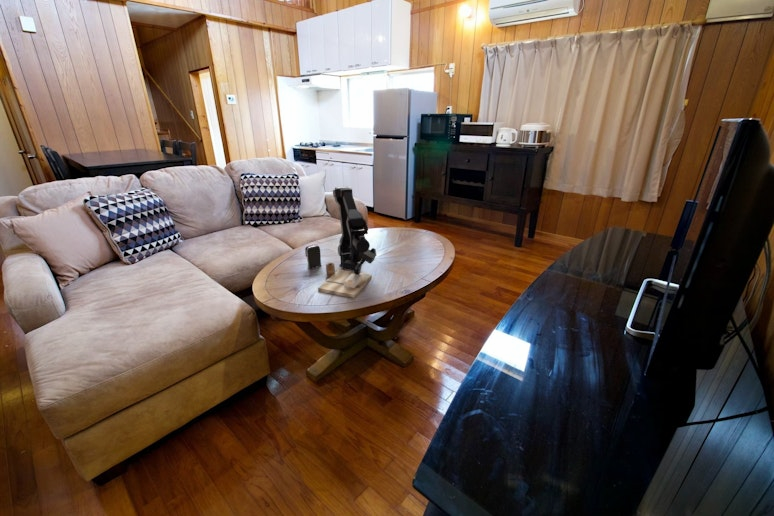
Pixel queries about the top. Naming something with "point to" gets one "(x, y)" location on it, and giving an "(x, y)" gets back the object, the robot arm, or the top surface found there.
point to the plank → (337, 284)
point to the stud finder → (353, 280)
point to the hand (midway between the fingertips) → (357, 275)
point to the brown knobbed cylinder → (330, 269)
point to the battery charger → (313, 256)
